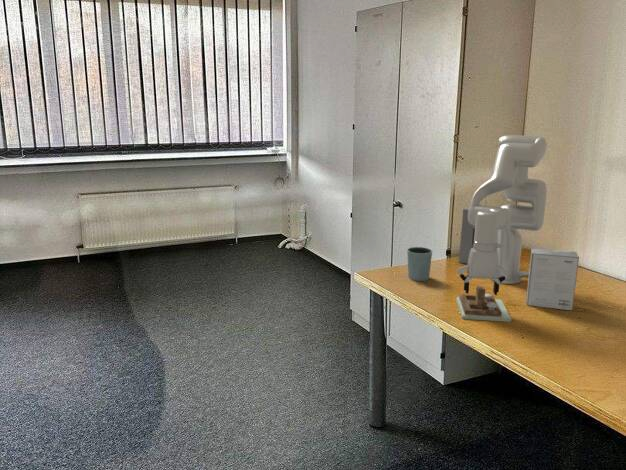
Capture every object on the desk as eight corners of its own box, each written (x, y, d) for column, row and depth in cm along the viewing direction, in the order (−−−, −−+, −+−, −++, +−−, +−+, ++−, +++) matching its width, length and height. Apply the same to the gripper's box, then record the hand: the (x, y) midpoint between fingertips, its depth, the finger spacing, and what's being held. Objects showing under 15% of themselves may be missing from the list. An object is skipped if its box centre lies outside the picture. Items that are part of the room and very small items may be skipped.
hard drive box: (570, 304, 202) (577, 251, 197) (572, 311, 195) (580, 257, 190) (525, 298, 207) (531, 247, 202) (526, 305, 200) (532, 252, 195)
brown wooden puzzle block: (492, 299, 202) (494, 281, 200) (501, 316, 186) (503, 297, 185) (459, 297, 203) (460, 280, 202) (464, 314, 188) (466, 295, 186)
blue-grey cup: (432, 281, 224) (434, 253, 221) (407, 281, 225) (409, 253, 222) (427, 274, 234) (429, 246, 231) (404, 273, 234) (405, 246, 231)
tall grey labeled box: (471, 265, 248) (476, 210, 242) (458, 262, 251) (462, 209, 245) (480, 258, 259) (485, 205, 253) (468, 255, 262) (472, 204, 256)
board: (500, 302, 203) (501, 292, 202) (510, 321, 185) (512, 310, 184) (456, 299, 205) (457, 289, 204) (462, 318, 187) (463, 307, 186)
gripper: (508, 244, 192) (504, 290, 196) (457, 242, 194) (454, 287, 199) (513, 250, 185) (508, 298, 189) (460, 248, 187) (456, 295, 192)
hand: (480, 292), depth 194 cm, fingers open, 9 cm apart
